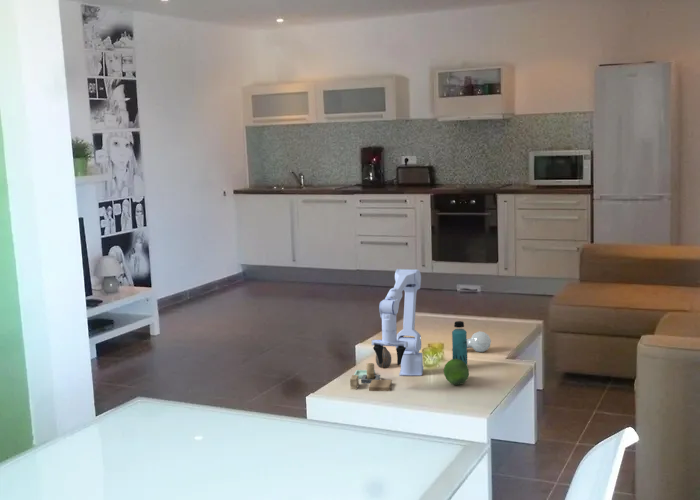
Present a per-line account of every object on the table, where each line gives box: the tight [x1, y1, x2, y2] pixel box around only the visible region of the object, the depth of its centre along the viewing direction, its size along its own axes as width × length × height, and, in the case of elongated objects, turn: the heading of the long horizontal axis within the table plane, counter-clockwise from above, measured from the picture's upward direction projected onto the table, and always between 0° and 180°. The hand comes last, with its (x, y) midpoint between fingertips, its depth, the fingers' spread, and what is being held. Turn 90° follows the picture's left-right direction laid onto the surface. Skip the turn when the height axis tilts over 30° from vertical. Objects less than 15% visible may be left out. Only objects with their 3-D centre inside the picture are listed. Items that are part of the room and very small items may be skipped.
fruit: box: [443, 358, 470, 385], centre depth 325 cm, size 15×10×10 cm, turn 173°
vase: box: [375, 346, 392, 369], centre depth 353 cm, size 7×7×9 cm
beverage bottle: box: [451, 320, 468, 366], centre depth 346 cm, size 6×7×20 cm
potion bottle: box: [467, 330, 492, 353], centre depth 371 cm, size 9×10×15 cm
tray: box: [353, 369, 376, 380], centre depth 340 cm, size 8×8×2 cm
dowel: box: [365, 362, 376, 379], centre depth 333 cm, size 3×3×7 cm
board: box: [368, 379, 393, 392], centre depth 324 cm, size 8×10×2 cm
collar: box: [360, 374, 381, 384], centre depth 333 cm, size 7×7×2 cm
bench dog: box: [349, 374, 360, 390], centre depth 325 cm, size 2×6×4 cm, turn 171°
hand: (390, 364), depth 319 cm, fingers open, 7 cm apart
